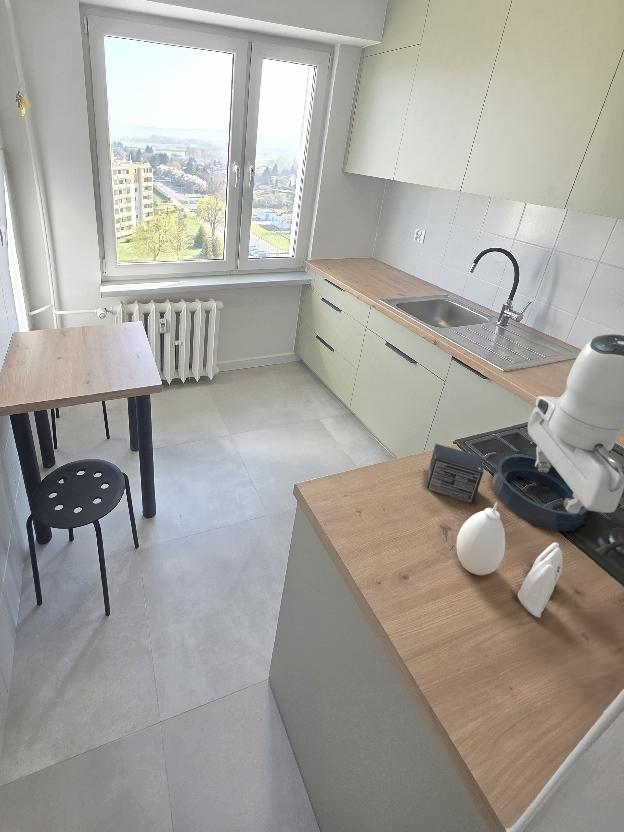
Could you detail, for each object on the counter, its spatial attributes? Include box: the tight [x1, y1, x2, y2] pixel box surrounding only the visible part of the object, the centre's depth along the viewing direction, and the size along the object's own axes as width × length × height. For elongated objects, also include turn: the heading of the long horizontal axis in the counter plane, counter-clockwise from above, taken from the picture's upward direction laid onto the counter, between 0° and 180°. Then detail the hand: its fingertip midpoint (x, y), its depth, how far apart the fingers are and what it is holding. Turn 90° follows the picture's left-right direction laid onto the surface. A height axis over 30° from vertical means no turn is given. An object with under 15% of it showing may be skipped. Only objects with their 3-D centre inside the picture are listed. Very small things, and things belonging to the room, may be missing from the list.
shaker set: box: [517, 542, 564, 618], centre depth 78 cm, size 12×4×11 cm, turn 131°
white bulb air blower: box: [456, 501, 506, 576], centre depth 81 cm, size 8×8×18 cm
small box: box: [426, 443, 485, 504], centre depth 101 cm, size 11×6×10 cm, turn 66°
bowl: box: [491, 454, 590, 532], centre depth 100 cm, size 18×18×6 cm
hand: (554, 488), depth 75 cm, fingers open, 8 cm apart
